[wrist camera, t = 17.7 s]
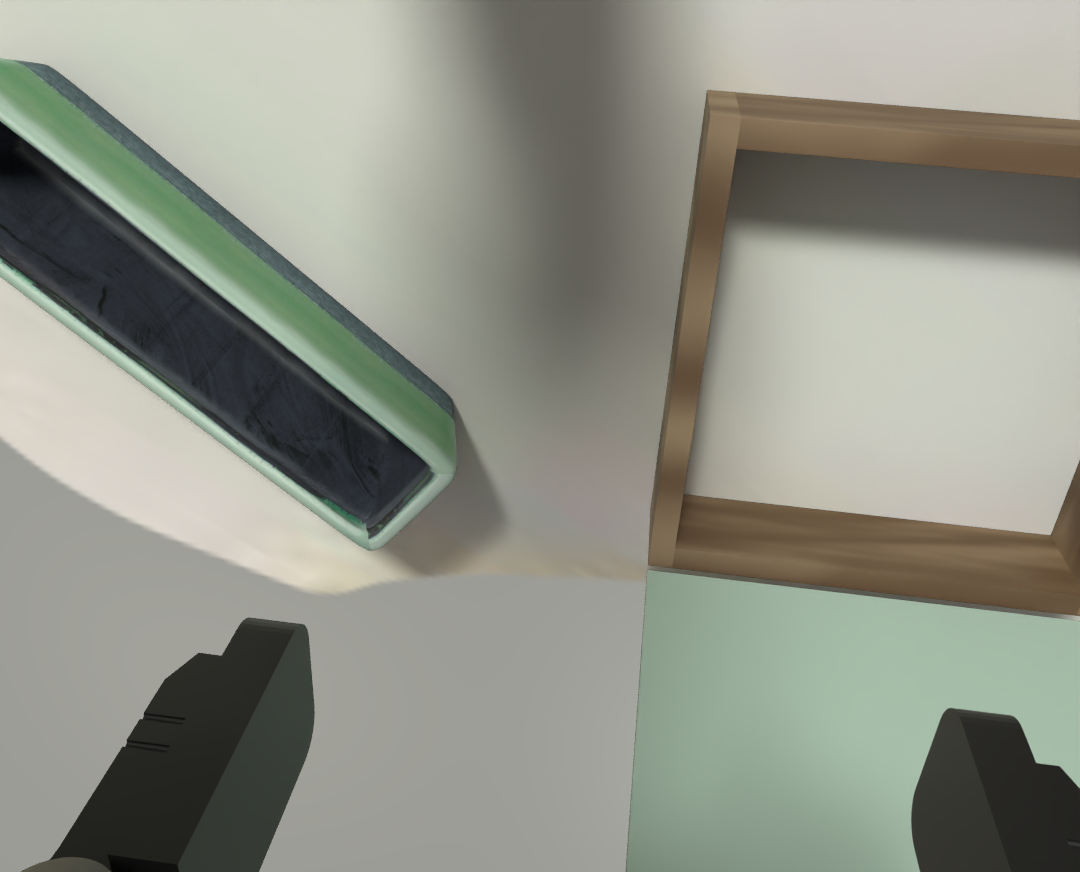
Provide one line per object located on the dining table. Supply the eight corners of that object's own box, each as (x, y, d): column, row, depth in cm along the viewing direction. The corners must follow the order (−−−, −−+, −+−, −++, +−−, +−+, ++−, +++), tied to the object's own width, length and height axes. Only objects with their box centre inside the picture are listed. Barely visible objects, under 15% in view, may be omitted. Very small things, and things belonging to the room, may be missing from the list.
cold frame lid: (610, 1088, 35) (609, 1093, 36) (1267, 1191, 33) (1251, 1194, 34) (647, 570, 49) (645, 581, 50) (1104, 623, 48) (1096, 634, 49)
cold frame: (706, 90, 43) (710, 115, 39) (1237, 133, 41) (1302, 164, 37) (650, 509, 54) (647, 565, 50) (1067, 556, 52) (1102, 618, 48)
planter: (-32, 138, 49) (-137, 178, 42) (32, 21, 45) (-71, 46, 39) (405, 482, 55) (371, 560, 49) (488, 402, 52) (462, 474, 46)
